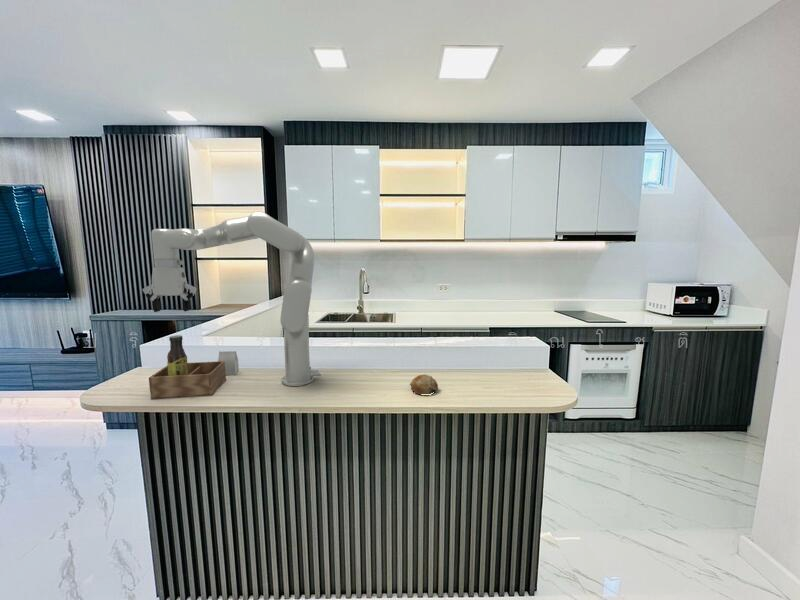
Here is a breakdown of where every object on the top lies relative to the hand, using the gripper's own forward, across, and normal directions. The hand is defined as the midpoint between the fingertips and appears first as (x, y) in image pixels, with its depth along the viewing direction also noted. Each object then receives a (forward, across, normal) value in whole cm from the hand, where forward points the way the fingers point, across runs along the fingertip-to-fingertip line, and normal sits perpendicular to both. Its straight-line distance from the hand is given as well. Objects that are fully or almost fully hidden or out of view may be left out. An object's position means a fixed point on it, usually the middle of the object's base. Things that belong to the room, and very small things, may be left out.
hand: (172, 311), depth 122 cm
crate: (+30, -4, 0) cm, 31 cm away
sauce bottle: (+30, 0, 0) cm, 30 cm away
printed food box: (+31, -13, -14) cm, 36 cm away
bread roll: (+31, -91, +15) cm, 97 cm away
